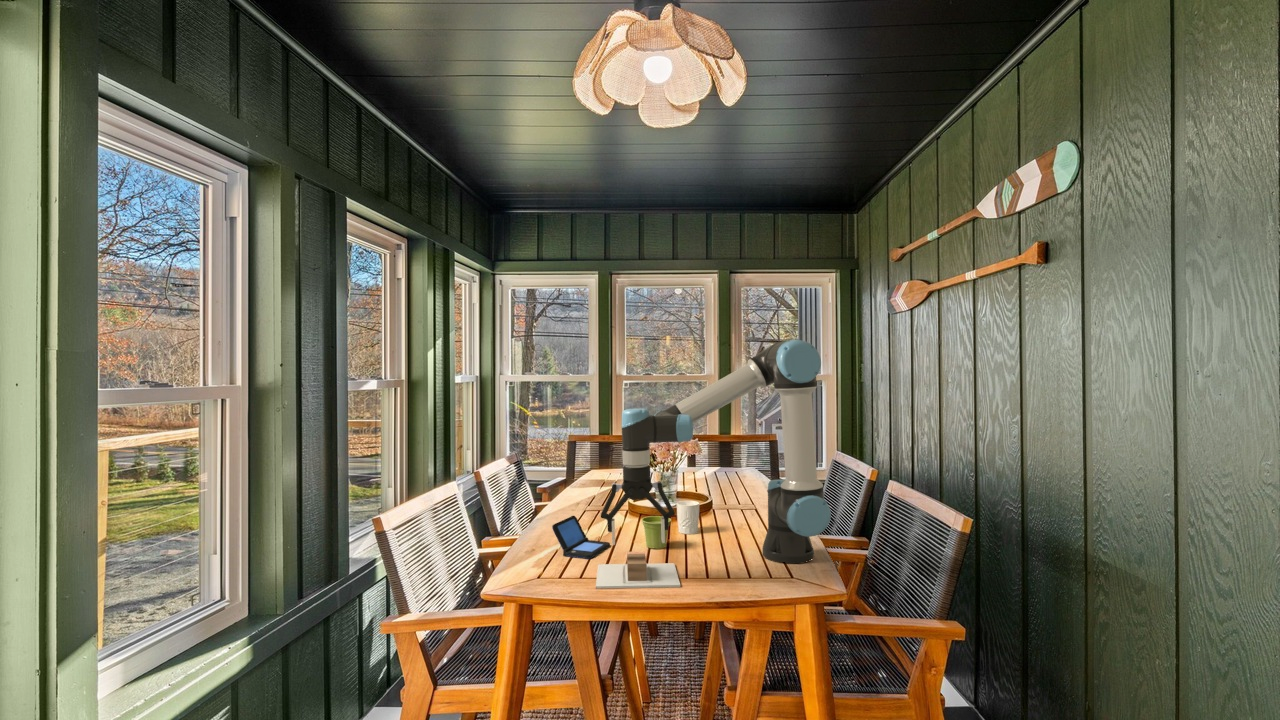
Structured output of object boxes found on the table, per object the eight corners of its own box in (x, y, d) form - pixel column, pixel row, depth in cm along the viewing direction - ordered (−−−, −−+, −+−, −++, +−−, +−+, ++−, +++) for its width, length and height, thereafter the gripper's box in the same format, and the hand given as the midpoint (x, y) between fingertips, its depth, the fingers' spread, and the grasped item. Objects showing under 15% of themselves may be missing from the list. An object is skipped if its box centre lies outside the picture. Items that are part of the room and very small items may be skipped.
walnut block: (646, 580, 170) (646, 563, 170) (627, 581, 169) (627, 564, 169) (644, 567, 181) (644, 551, 181) (627, 567, 180) (627, 551, 180)
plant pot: (660, 540, 210) (660, 514, 210) (677, 547, 202) (676, 520, 202) (636, 545, 205) (636, 518, 205) (652, 552, 197) (652, 524, 197)
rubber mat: (674, 565, 184) (674, 563, 184) (680, 587, 166) (680, 584, 166) (597, 566, 184) (597, 564, 184) (595, 588, 166) (595, 586, 166)
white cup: (672, 530, 222) (672, 502, 222) (691, 527, 226) (691, 499, 226) (684, 536, 215) (684, 506, 215) (704, 533, 219) (703, 503, 219)
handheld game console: (590, 560, 190) (589, 529, 190) (550, 555, 195) (550, 525, 195) (611, 546, 205) (611, 517, 205) (574, 542, 209) (574, 514, 210)
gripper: (680, 461, 179) (682, 537, 179) (591, 464, 178) (593, 540, 178) (683, 465, 172) (685, 544, 172) (590, 468, 171) (592, 548, 171)
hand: (638, 542), depth 175 cm, fingers open, 13 cm apart
